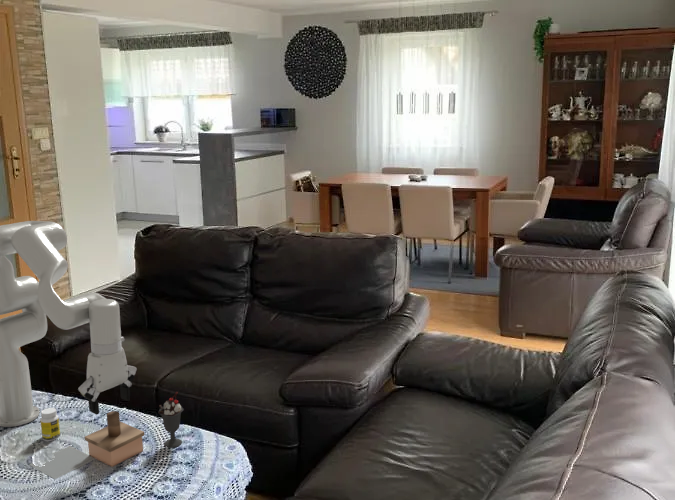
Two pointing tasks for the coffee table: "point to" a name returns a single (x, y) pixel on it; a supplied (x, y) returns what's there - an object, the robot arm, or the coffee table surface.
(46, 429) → the supplement bottle
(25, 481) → the coffee table surface
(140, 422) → the coffee table surface
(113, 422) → the lid
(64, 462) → the mat
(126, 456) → the open wooden box
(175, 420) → the sundae
